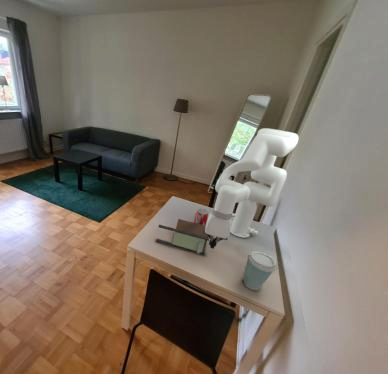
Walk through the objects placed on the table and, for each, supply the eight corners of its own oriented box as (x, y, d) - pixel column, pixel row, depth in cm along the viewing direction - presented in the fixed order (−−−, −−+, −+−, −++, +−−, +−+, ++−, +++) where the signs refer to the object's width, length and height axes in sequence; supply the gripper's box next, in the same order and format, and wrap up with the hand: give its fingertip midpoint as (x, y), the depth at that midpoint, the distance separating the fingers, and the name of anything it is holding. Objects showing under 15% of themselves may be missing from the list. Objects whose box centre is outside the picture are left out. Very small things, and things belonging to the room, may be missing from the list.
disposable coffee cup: (233, 277, 94) (243, 251, 88) (250, 271, 99) (260, 246, 92) (253, 298, 86) (266, 270, 79) (271, 290, 90) (284, 263, 84)
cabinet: (205, 241, 116) (209, 226, 111) (204, 255, 106) (209, 239, 101) (160, 229, 122) (163, 214, 118) (155, 241, 112) (158, 226, 108)
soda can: (205, 233, 123) (209, 215, 118) (192, 230, 124) (197, 213, 119) (204, 226, 129) (208, 209, 124) (192, 224, 130) (196, 207, 125)
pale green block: (201, 251, 107) (205, 238, 103) (201, 256, 103) (205, 243, 100) (172, 243, 110) (175, 230, 107) (171, 248, 107) (173, 234, 104)
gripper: (239, 213, 94) (228, 246, 101) (204, 205, 97) (196, 237, 105) (241, 222, 87) (229, 256, 95) (204, 213, 91) (195, 247, 98)
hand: (211, 246), depth 100 cm, fingers closed
